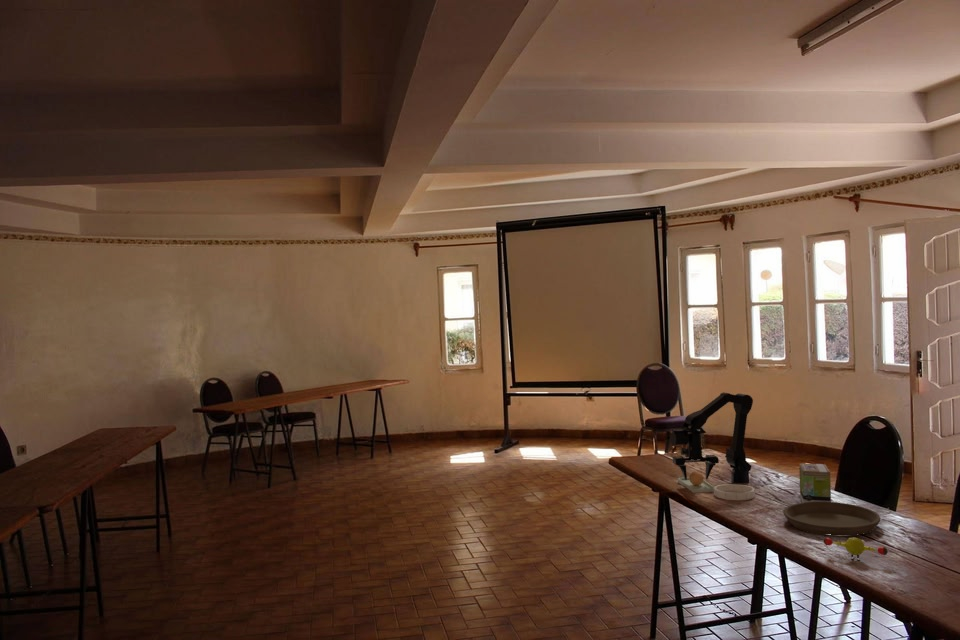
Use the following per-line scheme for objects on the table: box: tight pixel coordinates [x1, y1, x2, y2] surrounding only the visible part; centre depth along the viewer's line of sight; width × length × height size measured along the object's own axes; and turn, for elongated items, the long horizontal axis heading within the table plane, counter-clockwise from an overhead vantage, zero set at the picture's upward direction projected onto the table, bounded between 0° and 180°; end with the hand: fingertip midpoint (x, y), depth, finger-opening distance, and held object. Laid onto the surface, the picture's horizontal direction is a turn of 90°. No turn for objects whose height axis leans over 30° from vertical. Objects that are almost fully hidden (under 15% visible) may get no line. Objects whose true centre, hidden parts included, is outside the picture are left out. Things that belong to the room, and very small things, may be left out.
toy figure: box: [823, 536, 889, 559], centre depth 222 cm, size 18×6×7 cm, turn 48°
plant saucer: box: [782, 501, 881, 535], centre depth 257 cm, size 31×31×5 cm
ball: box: [688, 471, 705, 486], centre depth 317 cm, size 6×6×6 cm
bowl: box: [713, 483, 756, 501], centre depth 299 cm, size 16×16×4 cm
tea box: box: [798, 463, 832, 503], centre depth 283 cm, size 15×10×15 cm
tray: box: [677, 476, 715, 494], centre depth 317 cm, size 10×22×2 cm, turn 1°
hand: (696, 479), depth 317 cm, fingers open, 9 cm apart
